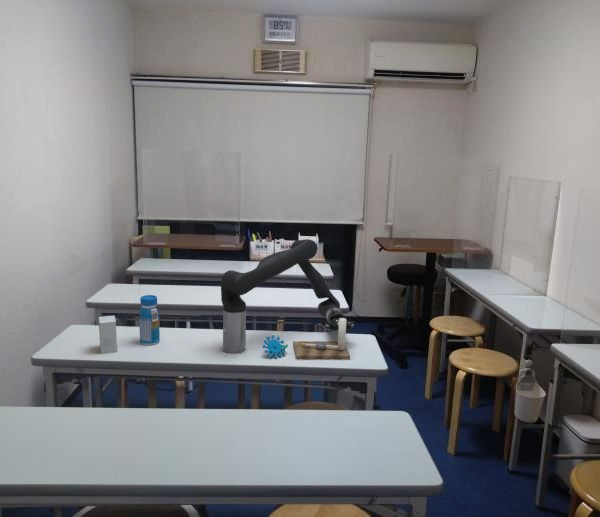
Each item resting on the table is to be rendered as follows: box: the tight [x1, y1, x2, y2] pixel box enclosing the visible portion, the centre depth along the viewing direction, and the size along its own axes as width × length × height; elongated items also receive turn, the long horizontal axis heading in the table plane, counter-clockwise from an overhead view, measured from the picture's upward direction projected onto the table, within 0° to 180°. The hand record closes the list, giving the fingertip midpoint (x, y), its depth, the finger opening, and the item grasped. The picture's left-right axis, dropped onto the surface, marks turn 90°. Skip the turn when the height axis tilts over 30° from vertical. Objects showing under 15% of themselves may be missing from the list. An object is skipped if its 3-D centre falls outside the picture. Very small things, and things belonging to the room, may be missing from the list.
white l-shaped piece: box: [301, 317, 347, 350], centre depth 212 cm, size 18×4×13 cm, turn 83°
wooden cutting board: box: [292, 340, 351, 361], centre depth 214 cm, size 22×16×2 cm
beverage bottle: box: [138, 294, 161, 346], centre depth 215 cm, size 8×8×20 cm
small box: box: [98, 315, 118, 354], centre depth 207 cm, size 8×6×13 cm
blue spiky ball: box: [262, 334, 289, 359], centre depth 209 cm, size 11×6×10 cm
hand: (343, 331), depth 213 cm, fingers closed
